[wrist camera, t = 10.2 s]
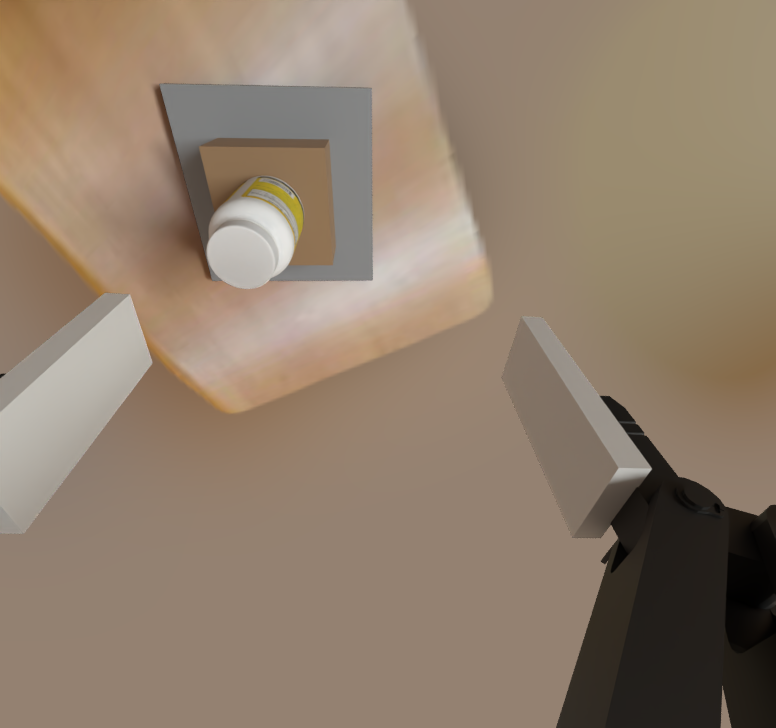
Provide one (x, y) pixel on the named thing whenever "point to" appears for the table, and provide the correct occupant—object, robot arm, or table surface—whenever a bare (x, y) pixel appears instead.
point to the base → (285, 121)
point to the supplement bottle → (255, 232)
